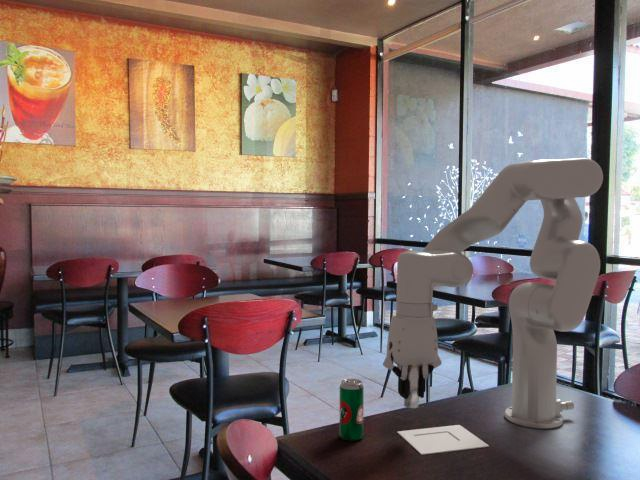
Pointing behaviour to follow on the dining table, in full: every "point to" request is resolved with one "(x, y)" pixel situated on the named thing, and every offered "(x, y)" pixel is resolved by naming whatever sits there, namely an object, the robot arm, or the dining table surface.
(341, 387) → the soda can
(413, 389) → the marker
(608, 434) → the dining table surface
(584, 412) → the dining table surface
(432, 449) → the paper
